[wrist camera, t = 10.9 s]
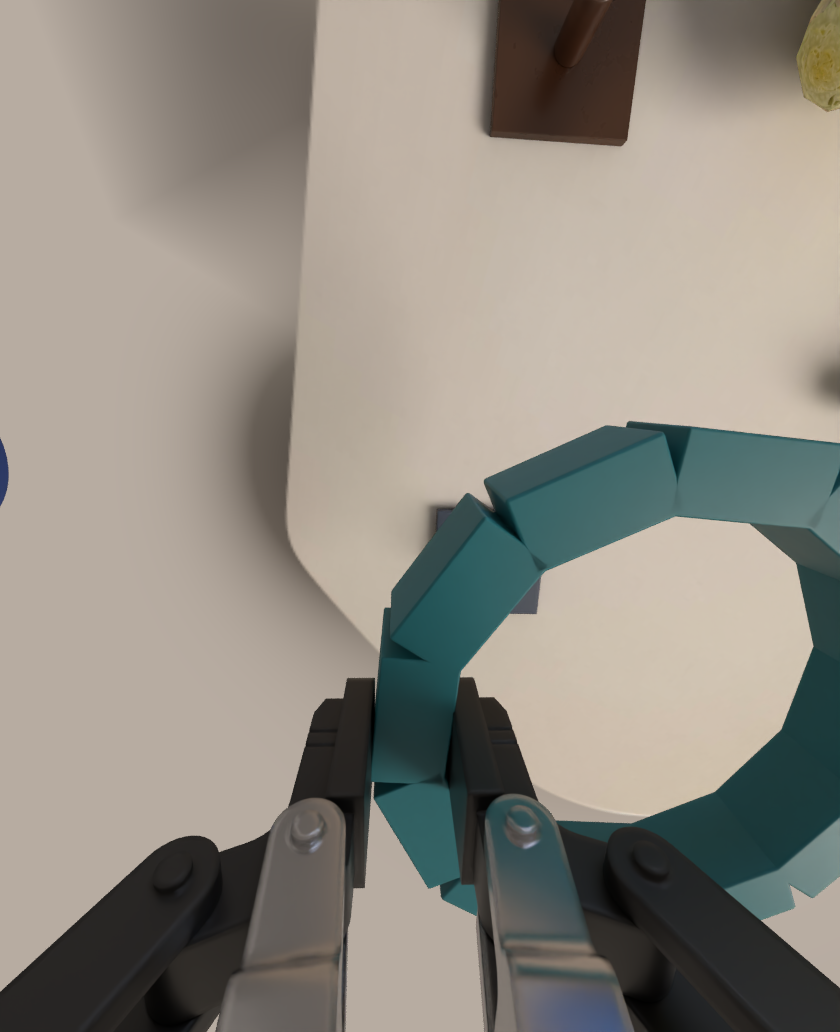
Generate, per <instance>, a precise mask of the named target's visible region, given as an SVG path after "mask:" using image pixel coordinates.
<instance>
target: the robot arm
mask: <svg viewBox="0 0 840 1032" xmlns="http://www.w3.org/2000/svg"><path fill="white" fill-rule="evenodd" d="M374 715H375V678H348V679H347V682H346V688H345V693H344V698H343V699H325V701H324V702H323V703H322V704H321V705H320V706H319V708H318V709H317V710H316V711H315V712H314V715H313V719H312V722H311V726H310V730H309V734H308V737H307V741H306V747H305V748H304V752H303V755H302V759H301V763H300V767H299V771H298V774H297V778H296V781H295V785H294V789H293V793H292V796H291V800H290V803H289V806H288V808H287V809H285V810H284V811H283V812H282V813H281V814H280V815H279V816H278V818H277V819H276V820H275V822H274V824H273V826H272V827H271V829H270V830H269V831H268V832H267V833H265V834H264V835H262V836H260V837H259V838H257V839H255V840H253V841H250V842H248V843H245V844H242V845H239V846H236V847H233V848H230V849H228V850H224V851H221V852H218V848H217V847H216V845H215V844H214V843H213V842H212V841H211V840H209V839H207V838H205V837H201V836H186V837H182V838H178V839H176V840H173V841H171V842H169V843H167V844H165V845H163V846H161V847H160V848H158V849H157V850H155V851H154V852H153V853H152V854H151V855H149V856H148V857H147V858H146V859H145V860H144V861H143V862H142V863H140V864H139V865H138V866H137V867H136V868H135V869H134V870H133V871H132V872H131V873H130V874H129V875H127V876H126V877H125V878H124V879H123V880H122V881H121V882H120V883H119V884H118V885H116V886H115V887H114V888H113V889H112V890H111V891H110V892H109V893H108V894H107V895H105V896H104V897H103V898H102V899H101V900H100V901H99V902H98V903H97V904H96V905H95V906H93V907H92V908H91V909H90V910H89V911H88V912H87V913H86V914H85V915H84V916H83V917H81V918H80V919H79V920H78V921H77V922H76V923H75V924H74V925H73V926H72V927H71V928H69V929H68V930H67V931H66V932H65V933H64V934H63V935H62V936H61V937H60V938H59V939H57V940H56V941H55V942H54V943H53V944H52V945H51V946H50V947H49V948H48V949H46V950H45V951H44V952H43V953H42V954H41V955H40V956H39V957H38V958H37V959H36V960H34V961H33V962H32V963H31V964H30V965H29V966H28V967H27V968H26V969H25V970H24V971H22V972H21V973H20V974H19V975H18V976H17V977H16V978H15V979H14V980H13V981H12V982H11V983H9V984H8V985H7V986H6V987H5V988H4V989H3V990H2V991H1V992H0V1032H207V1030H208V1029H209V1027H210V1026H211V1025H212V1023H213V1022H214V1020H215V1019H216V1017H217V1016H218V1014H219V1013H220V1014H219V1019H218V1022H217V1027H216V1031H215V1032H345V1029H346V1027H345V1026H346V991H347V989H346V987H347V952H348V926H349V923H350V918H351V908H352V898H353V888H365V875H366V859H367V845H368V831H369V830H368V829H369V817H370V803H371V802H370V801H371V788H372V782H371V753H372V740H373V728H374ZM447 772H448V780H449V794H450V801H451V809H452V817H453V825H454V832H455V840H456V848H457V856H458V863H459V871H460V879H461V885H474V887H475V893H476V899H477V906H478V907H477V919H476V932H477V945H478V957H479V969H480V982H481V994H482V1007H483V1021H484V1032H840V988H839V987H838V986H837V985H836V984H834V983H833V982H832V981H831V980H830V979H829V978H827V977H826V976H825V975H824V974H822V972H820V971H819V970H818V969H817V968H816V967H815V966H813V965H812V964H811V963H810V962H809V961H808V960H806V959H805V958H804V957H803V956H802V955H800V954H799V953H798V952H797V951H796V950H794V949H793V948H792V947H791V946H790V945H789V944H788V943H786V942H785V941H784V940H783V939H782V938H781V937H779V936H778V935H777V934H776V933H775V932H774V931H772V930H771V929H770V928H769V927H768V926H766V925H765V924H764V923H763V922H762V921H761V920H759V919H758V918H757V917H756V916H755V915H754V914H752V913H751V912H750V911H749V910H748V909H747V908H745V907H744V906H743V905H742V904H741V903H740V902H738V901H737V900H736V899H735V898H734V897H733V896H731V895H730V894H729V893H728V892H727V891H726V890H724V889H723V888H722V887H721V886H720V885H719V884H717V883H716V882H715V881H714V880H713V879H711V878H710V877H709V876H708V875H707V874H706V873H704V872H703V871H702V870H701V869H700V868H699V867H697V866H696V865H695V864H694V863H693V862H692V861H690V860H689V859H688V858H687V857H686V856H685V855H683V854H682V853H681V852H680V851H679V850H678V849H676V848H675V847H674V846H673V845H672V844H670V843H669V842H668V841H667V840H665V839H664V838H662V837H661V836H659V835H657V834H655V833H653V832H651V831H649V830H646V829H643V828H639V827H631V826H629V827H622V828H619V829H617V830H616V831H614V832H613V833H612V834H611V836H610V838H609V839H608V843H607V842H604V841H600V840H597V839H594V838H590V837H587V836H583V835H580V834H577V833H574V832H572V831H570V830H568V829H566V828H564V827H562V826H561V825H559V824H558V823H557V822H556V820H555V819H554V817H553V816H552V814H551V813H550V812H549V810H548V809H546V807H545V806H543V805H542V804H541V803H539V802H538V799H537V797H536V794H535V791H534V788H533V785H532V783H531V780H530V777H529V774H528V771H527V768H526V765H525V763H524V760H523V757H522V754H521V751H520V748H519V745H518V744H517V740H516V737H515V734H514V731H513V730H512V725H511V722H510V719H509V717H508V714H507V711H506V710H505V709H504V708H503V707H502V706H501V704H500V703H499V702H498V701H497V700H496V699H495V698H494V697H479V695H478V691H477V688H476V684H475V681H474V678H473V677H463V678H460V681H459V687H458V694H457V701H456V707H455V712H453V726H452V734H451V740H450V747H449V753H448V760H447Z"/></svg>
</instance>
